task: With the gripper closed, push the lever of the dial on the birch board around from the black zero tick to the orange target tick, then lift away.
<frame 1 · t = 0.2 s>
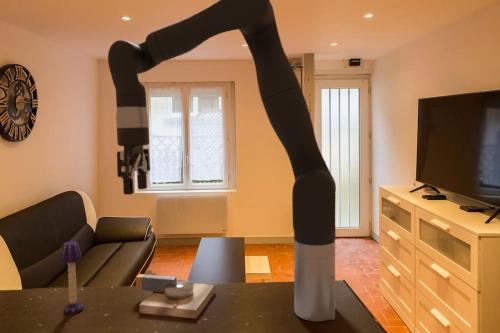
hand: (136, 191, 95), 27 cm above the table, tool pointing down, fingers open, 8 cm apart
dial: (164, 284, 94), point 4 cm above the table, hinge at 0.0°
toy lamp: (74, 311, 90), on the table
board: (179, 302, 94), on the table
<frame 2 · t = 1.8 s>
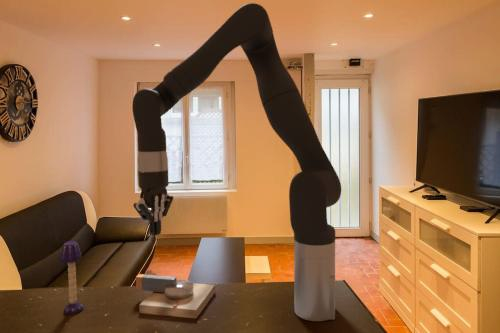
hand: (155, 234, 99), 15 cm above the table, tool pointing down, fingers closed
nothing on the table moved.
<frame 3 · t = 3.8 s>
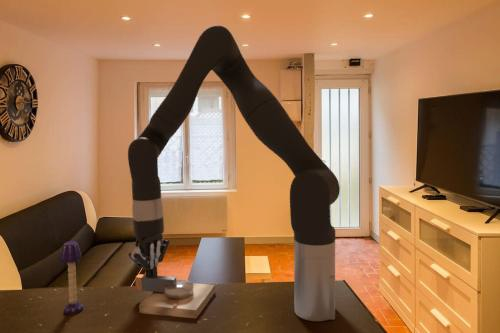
hand: (151, 281, 98), 4 cm above the table, tool pointing down, fingers closed
dial: (164, 284, 94), point 4 cm above the table, hinge at 1.2°, touching gripper
everything else where it was.
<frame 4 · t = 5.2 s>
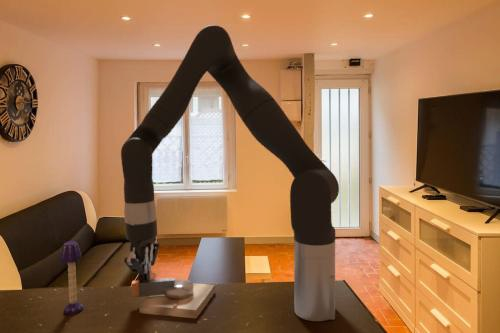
hand: (144, 285, 95), 4 cm above the table, tool pointing down, fingers closed
dial: (163, 287, 93), point 4 cm above the table, hinge at 22.4°, touching gripper
everything else where it was.
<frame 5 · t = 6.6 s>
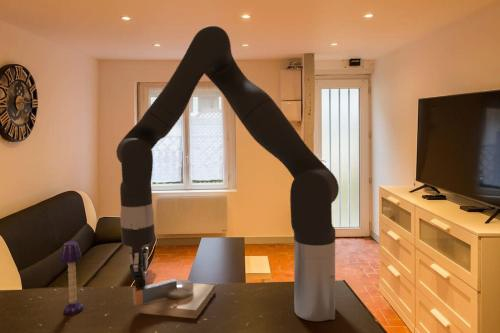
hand: (141, 292, 91), 4 cm above the table, tool pointing down, fingers closed
dial: (164, 289, 91), point 4 cm above the table, hinge at 48.4°, touching gripper
everything else where it was.
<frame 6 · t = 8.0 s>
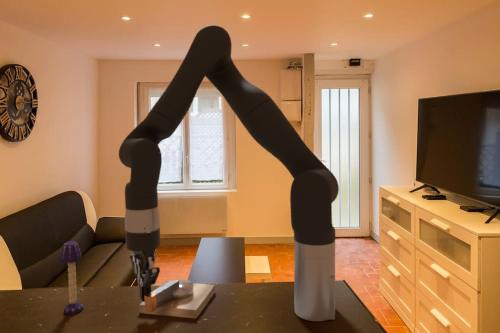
hand: (145, 299, 87), 4 cm above the table, tool pointing down, fingers closed
dial: (169, 291, 90), point 4 cm above the table, hinge at 76.0°, touching gripper
everything else where it was.
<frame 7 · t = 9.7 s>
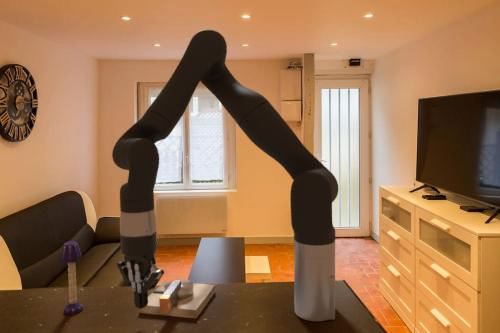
hand: (141, 306, 84), 4 cm above the table, tool pointing down, fingers closed
dial: (174, 292, 90), point 4 cm above the table, hinge at 96.2°
everything else where it was.
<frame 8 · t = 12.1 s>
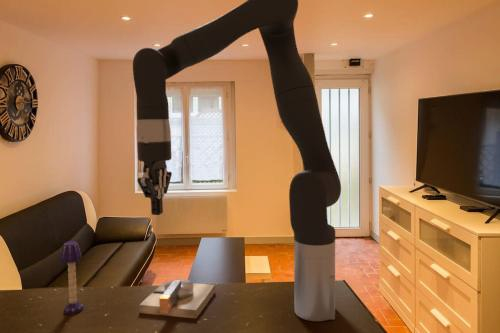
hand: (157, 214, 88), 23 cm above the table, tool pointing down, fingers closed
nothing on the table moved.
at the end: dial at +96° (first picture: +0°); dial touching nothing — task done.
